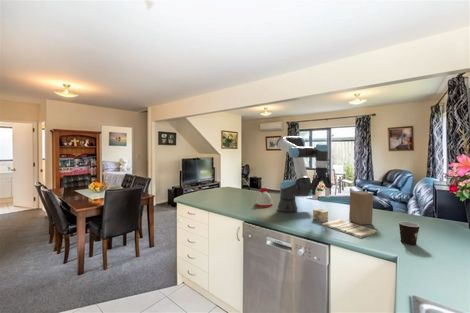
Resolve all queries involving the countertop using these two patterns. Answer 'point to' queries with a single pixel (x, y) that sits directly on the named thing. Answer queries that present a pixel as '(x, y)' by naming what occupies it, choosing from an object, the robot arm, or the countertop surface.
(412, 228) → the coffee mug
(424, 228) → the countertop surface
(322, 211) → the block
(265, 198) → the kitchen timer
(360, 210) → the block
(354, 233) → the board
